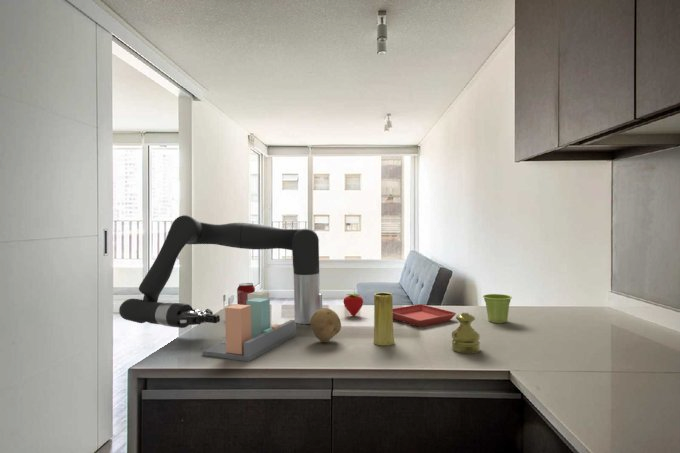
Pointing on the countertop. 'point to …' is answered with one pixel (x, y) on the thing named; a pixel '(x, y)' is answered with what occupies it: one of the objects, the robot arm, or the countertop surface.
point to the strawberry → (353, 303)
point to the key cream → (258, 295)
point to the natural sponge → (325, 324)
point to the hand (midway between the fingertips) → (218, 319)
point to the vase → (383, 319)
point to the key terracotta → (237, 327)
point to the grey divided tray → (256, 343)
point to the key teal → (259, 315)
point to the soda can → (244, 292)
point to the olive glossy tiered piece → (465, 335)
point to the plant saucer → (422, 315)
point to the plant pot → (497, 307)
